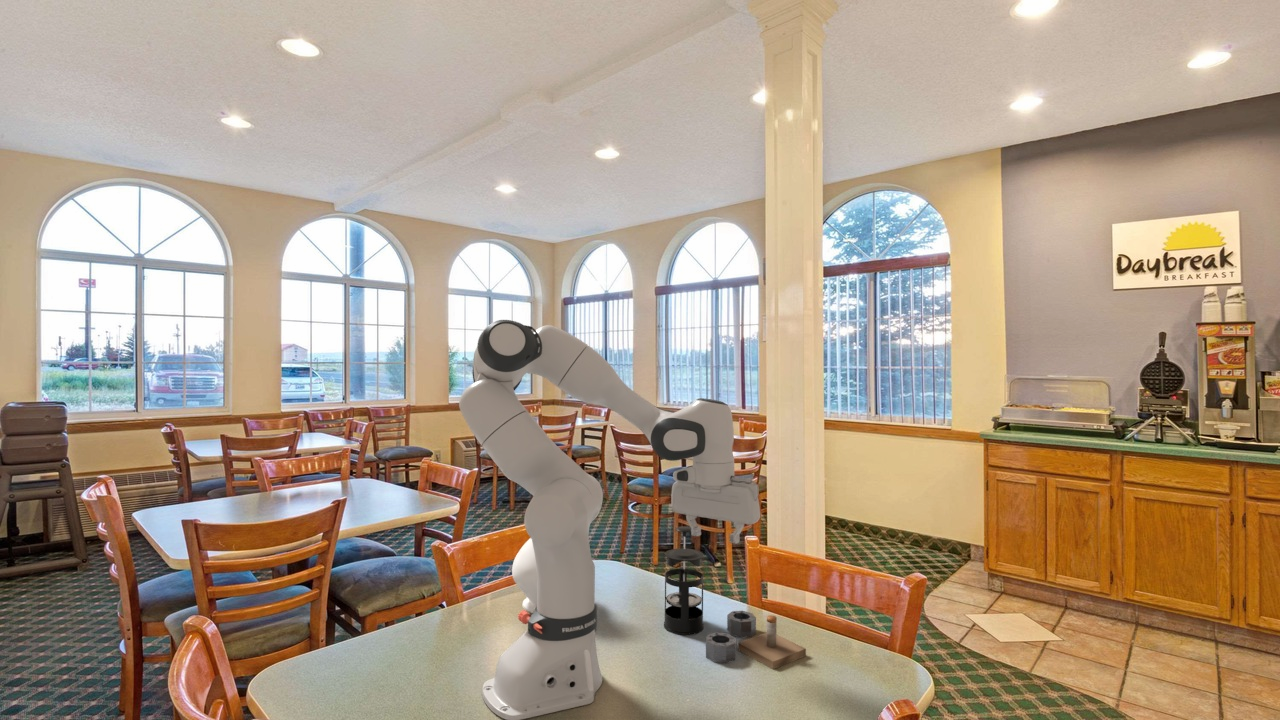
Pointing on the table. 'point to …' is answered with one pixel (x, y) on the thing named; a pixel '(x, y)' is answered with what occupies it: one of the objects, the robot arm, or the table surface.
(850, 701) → the table surface
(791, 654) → the keeper
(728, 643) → the grey octagonal nut
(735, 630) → the grey octagonal ring
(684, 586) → the french press
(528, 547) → the decorative vase
